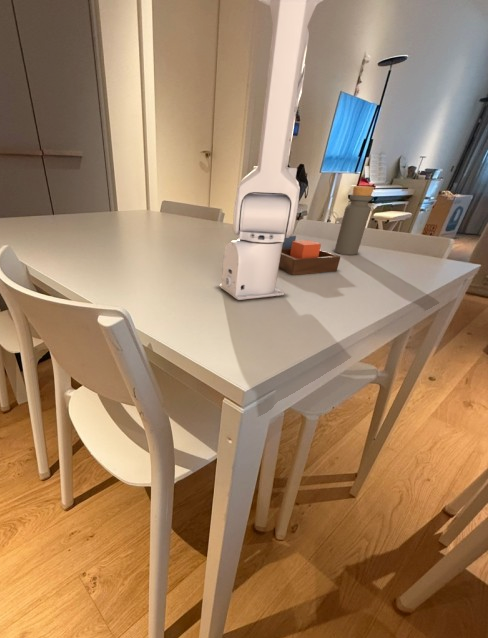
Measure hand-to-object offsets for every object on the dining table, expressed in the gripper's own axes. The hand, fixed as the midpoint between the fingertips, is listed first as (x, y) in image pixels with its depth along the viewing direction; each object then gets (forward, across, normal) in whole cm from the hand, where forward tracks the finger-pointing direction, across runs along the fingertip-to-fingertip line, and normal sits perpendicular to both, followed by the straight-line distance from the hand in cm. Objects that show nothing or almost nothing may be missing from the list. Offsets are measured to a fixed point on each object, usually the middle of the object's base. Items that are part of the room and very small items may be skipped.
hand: (267, 215), depth 77 cm
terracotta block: (+9, -10, -5) cm, 14 cm away
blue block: (+9, 0, -5) cm, 10 cm away
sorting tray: (+9, -5, -5) cm, 12 cm away
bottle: (+10, 0, -26) cm, 28 cm away
